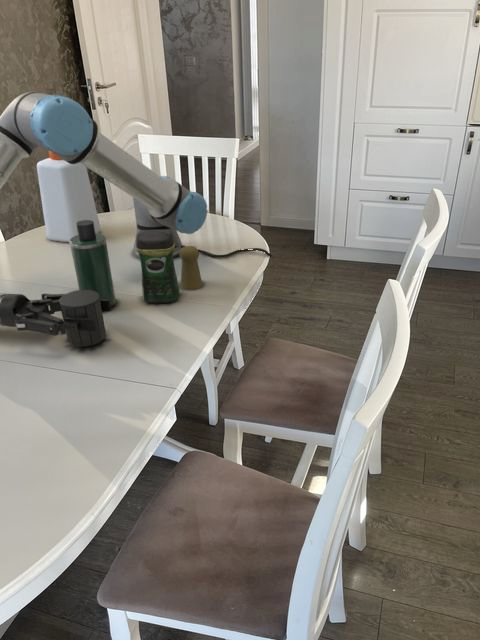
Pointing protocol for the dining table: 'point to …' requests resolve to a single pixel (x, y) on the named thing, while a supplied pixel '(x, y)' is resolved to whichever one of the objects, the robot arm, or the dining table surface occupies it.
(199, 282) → the olive pawn figure
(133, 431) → the dining table surface
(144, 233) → the coffee jar
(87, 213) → the plastic bottle
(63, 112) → the robot arm
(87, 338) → the grey lidded canister
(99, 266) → the flask
